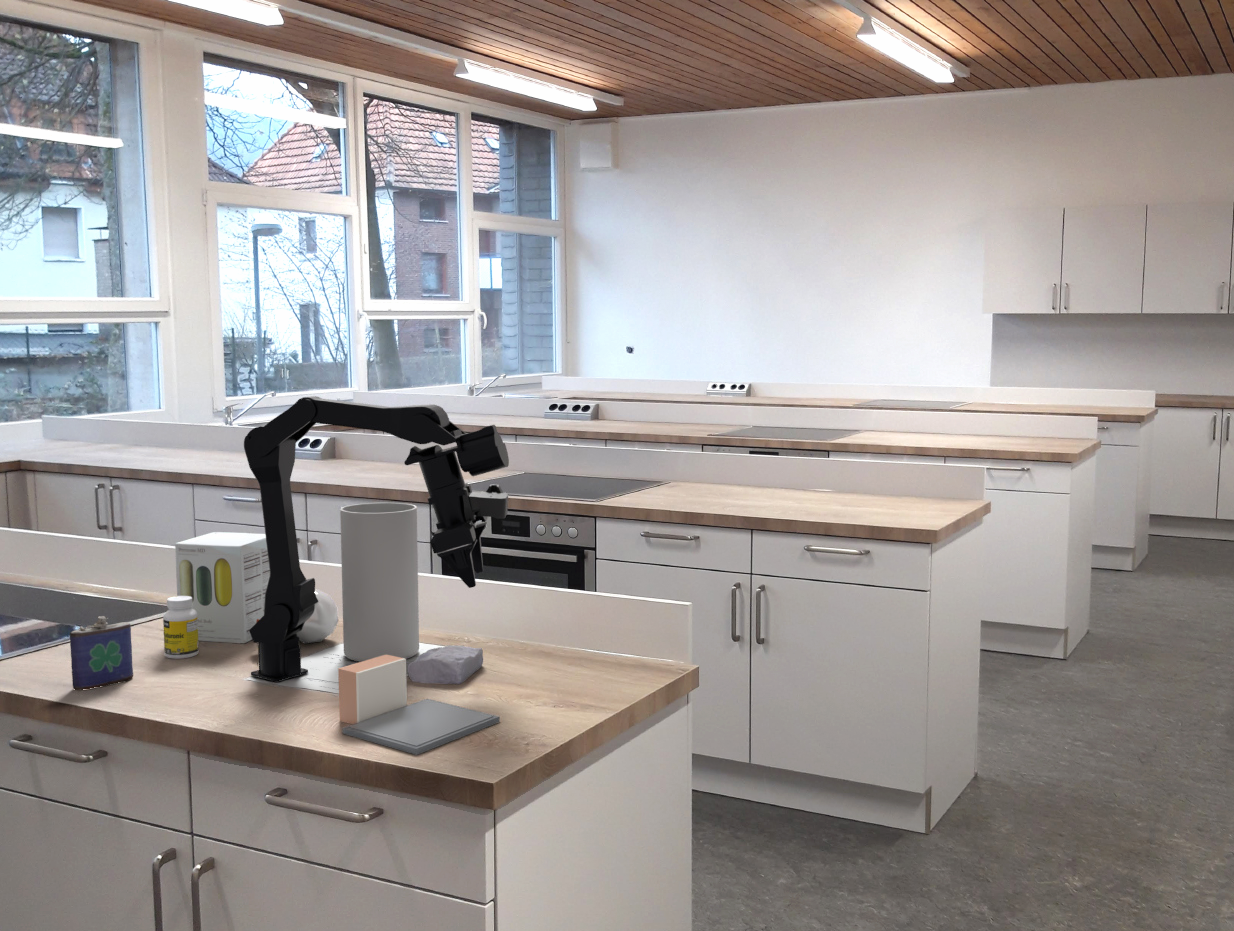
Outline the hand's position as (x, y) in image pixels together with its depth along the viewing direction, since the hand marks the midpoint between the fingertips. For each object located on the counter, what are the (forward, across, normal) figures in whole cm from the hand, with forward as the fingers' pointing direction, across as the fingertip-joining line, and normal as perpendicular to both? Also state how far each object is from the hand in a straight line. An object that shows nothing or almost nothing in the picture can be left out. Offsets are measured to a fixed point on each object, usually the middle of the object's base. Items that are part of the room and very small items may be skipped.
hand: (476, 579), depth 181 cm
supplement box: (+3, +28, +51) cm, 58 cm away
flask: (-1, -4, +60) cm, 60 cm away
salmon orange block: (+11, -18, +16) cm, 27 cm away
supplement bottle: (+1, +13, +54) cm, 56 cm away
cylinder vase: (+11, +14, +22) cm, 28 cm away
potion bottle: (+7, +20, +37) cm, 42 cm away
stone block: (+14, +3, +10) cm, 18 cm away
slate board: (+13, -24, +9) cm, 29 cm away
